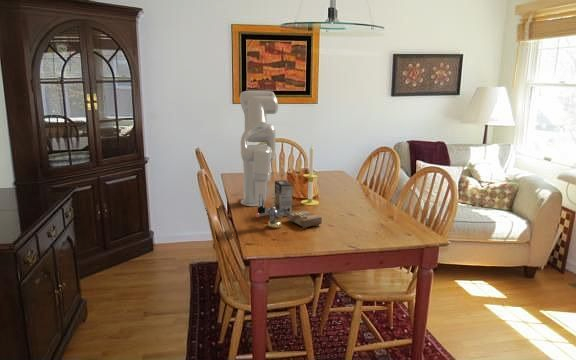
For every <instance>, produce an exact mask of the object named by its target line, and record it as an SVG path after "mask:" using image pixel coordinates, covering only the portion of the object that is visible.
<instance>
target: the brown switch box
mask: <svg viewBox="0 0 576 360" xmlns="http://www.w3.org/2000/svg"><path fill="white" fill-rule="evenodd" d="M286 219H287V220H288V221H289V223H295V224H297V225H299V226H301V227H302V229H303V230H306V229H308V227H312V226H314V227H319V226H320V225H322V224H323V223H322V219H323V218H322V217H321V216H319V215H318V214H315V213H313V212H310V211H309V210H307V209H301V210H300V209H299V210H295V211H292V212H288V213H287V216H286Z"/></svg>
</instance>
